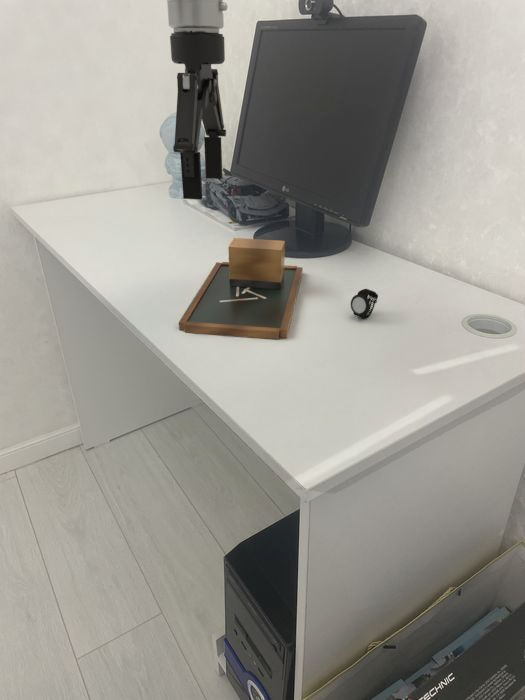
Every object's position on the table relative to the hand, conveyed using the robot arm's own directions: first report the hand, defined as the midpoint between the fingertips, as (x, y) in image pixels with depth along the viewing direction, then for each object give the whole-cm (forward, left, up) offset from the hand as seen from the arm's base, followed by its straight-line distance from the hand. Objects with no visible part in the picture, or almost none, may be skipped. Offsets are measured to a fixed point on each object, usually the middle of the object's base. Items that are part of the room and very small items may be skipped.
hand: (204, 187), depth 82 cm
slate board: (+5, +6, -22) cm, 23 cm away
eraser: (+7, +11, -21) cm, 24 cm away
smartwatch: (+27, +2, -22) cm, 35 cm away
